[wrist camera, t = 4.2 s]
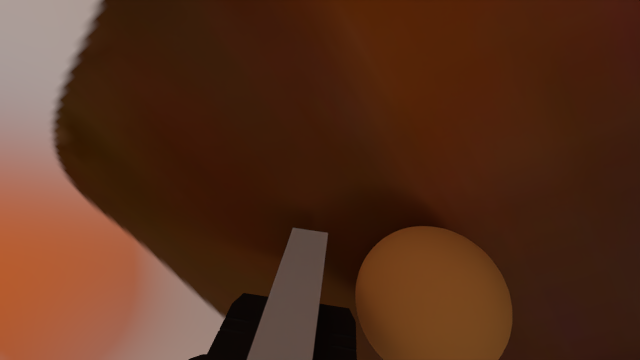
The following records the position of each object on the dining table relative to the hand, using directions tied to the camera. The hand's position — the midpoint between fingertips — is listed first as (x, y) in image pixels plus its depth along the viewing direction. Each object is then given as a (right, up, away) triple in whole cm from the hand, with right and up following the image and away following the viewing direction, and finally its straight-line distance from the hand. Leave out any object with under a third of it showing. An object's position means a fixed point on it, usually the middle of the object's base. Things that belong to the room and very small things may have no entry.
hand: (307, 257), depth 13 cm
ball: (+5, -1, -1) cm, 5 cm away
